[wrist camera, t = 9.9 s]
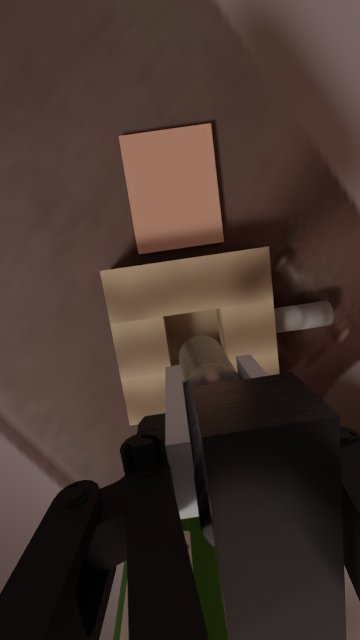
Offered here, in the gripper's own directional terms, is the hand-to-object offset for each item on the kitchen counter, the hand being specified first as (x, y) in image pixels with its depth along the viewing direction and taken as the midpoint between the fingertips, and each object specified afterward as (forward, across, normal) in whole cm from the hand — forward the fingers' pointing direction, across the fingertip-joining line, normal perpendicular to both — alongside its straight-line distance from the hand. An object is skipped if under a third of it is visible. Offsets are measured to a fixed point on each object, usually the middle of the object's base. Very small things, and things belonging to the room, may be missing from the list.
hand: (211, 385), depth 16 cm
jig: (+14, +3, -1) cm, 15 cm away
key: (+5, 0, 0) cm, 5 cm away
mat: (+15, 0, +12) cm, 19 cm away
